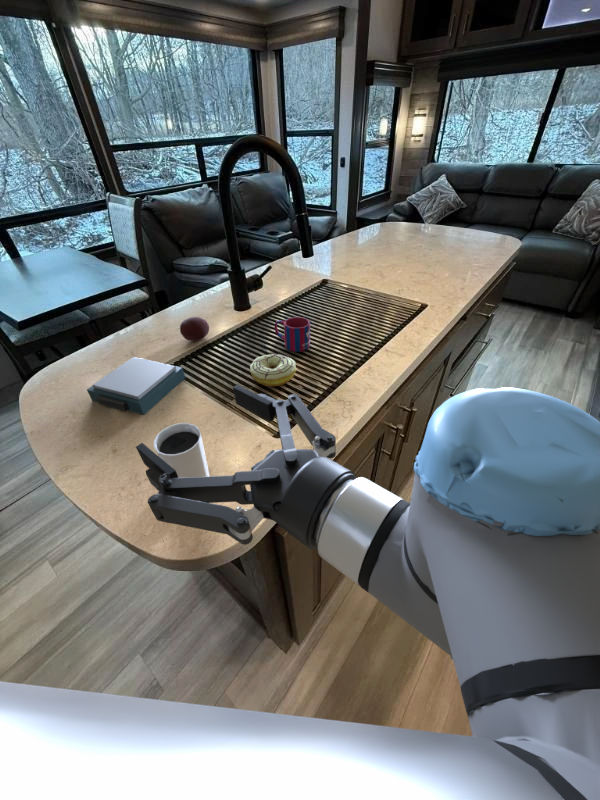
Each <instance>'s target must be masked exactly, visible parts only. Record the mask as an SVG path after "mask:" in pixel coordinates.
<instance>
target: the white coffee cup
mask: <svg viewBox="0 0 600 800" xmlns="http://www.w3.org/2000/svg"><path fill="white" fill-rule="evenodd" d="M202 437H203V436H202V433H201V429H200V428H199V427H198V426H197V425H196V424H193V423H189V422H178V423H175V424H171V425H169V426H167V427H165V428H163V429H162V430H161V431H160V432H159V433H157V434H156V436H155V437H154V440H153V448H154V450H155V453H156V455H158V456H159V457H160V458H161V459H162V460H164V461H165V462H166V463H167V464H169V465H170V466H171V467H172V468H173V469H175V470H176V472H177V475H178V477H179V478H187V477H209V476H210V471H209V466H208V462H207V457H206V451H205V448H204V441H203V438H202Z"/></svg>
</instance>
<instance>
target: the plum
mask: <svg viewBox="0 0 600 800" xmlns="http://www.w3.org/2000/svg"><path fill="white" fill-rule="evenodd" d="M179 332H180V335H181V336H182V337H183V338H184V339H185V340H187V341H194V342H195V341H201V340H203V339H204V338H206V336H208V334H209V332H210V325H209V323H208V322H207V320H206V319H204V318H203V317H200V316H190V317H188V318H186V319H184V320H182V321H181V323H180V326H179Z"/></svg>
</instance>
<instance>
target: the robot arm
mask: <svg viewBox="0 0 600 800" xmlns="http://www.w3.org/2000/svg"><path fill="white" fill-rule="evenodd" d="M232 390H233V395H234V399H235V403H236V405H237V406H239V407H241V408H244V409H246V410H247V411H249V412H251V413H253V414H255V415H257V416H258V417H260V418H262V419H264V420H266V421H268V422H269V423H271V422H273V421H274V420H275V419H276V422H277V426H278V427H277V428H278V432H279V433H278V434H279V439H280V444H281V445H280V446H281V448H278V449H276V450H275V449H271V450H270V451H269V452H268V453H267V454H266V455H265V457H264V458H263V459H262V460H260V461H258V462H256V463H255V464H254V465H252V466H251V467H250V470H243V471H242V470H241V471H236V472H235V473H234V474H232V475H213V476H209V477H187V478H179V477H178V475H177V472H176V470H175V469H173V468H172V467H171V466H170V465H169V464H167V463H166V462H165V461H164V460H162V459H161V458H160V457H159V456H158V454H157V453H156V452H154V451H153V450H152V449H151V448H150V447H148V446H147V445H145V444H144V443H143V442H140V443H139V444H137V445H136V446H135V449H136V450H137V452H138V454H139V457H140V459H141V461H142V463H143V465H145V467H147V468H148V469H146V470H145V474H146V477H147V479H148V481H149V484H150V485H152V487H154V489H156V490H157V491H158V492H157V493H155V494H152V495H151V496H150V497H148V499H147V504H148V506H149V509H150V510H151V512H152V514H153V515H154V517H155V519H156V520H157V521H159V522H163V523H167V524H172V525H178V526H183V527H187V528H192V529H198V530H203V531H208V532H213V533H217V534H218V533H219V534H223V535H227V536H229V537H230V538H232V539H234V541H236V542H238V543H239V544H241V545H244V546H245V545H249V544H250V543H251V542H252V541H253V538H254V536H253V531H254V530H255V529H256V527H258V525H259V524H260V522H261V521H263V519H264V520H265V519H266V520H271V521H273V522H275V523H276V524H277V525H278V526H279V527H280V528H281V529H282V530H284V532H285V531H286V532H287V533H288V534H289V535H291V536H292V537H293V538H294V539H296V540H297V541H298V542H300V543H301V544H303V545H304V546H305V547H306V548H308V549H309V550H317V554H318V555H319V557H320V558H321V559H323V560H324V561H325V562H327V563H328V564H329V565H331V566H332V567H333V568H335V569H336V570H337V571H339V572H340V573H341V574H343V575H344V576H345V577H347V578H348V579H349V580H351V581H352V582H353V583H354V584H356V585H357V586H358V587H360V588H361V589H362V590H364V591H365V592H366V593H368V594H369V595H371V596H372V597H373V598H375V599H376V600H378V602H380V603H381V604H383V606H385V607H386V608H387V609H389V610H390V611H391V612H393V613H394V614H395V615H396V616H398V617H399V618H400V619H402V620H403V621H404V622H406V623H407V624H408V625H410V626H411V627H412V628H414V629H415V630H416V631H418V632H419V633H420V634H422V636H424V637H425V638H427V639H428V640H429V641H430V642H432V643H433V644H434V645H435V646H436V647H438V648H439V649H441V650H442V651H443V652H445V653H446V654H447V655H448V656H450V659H451V660H452V661H453V665H454V668H455V671H456V676H457V680H458V683H459V687H460V693H461V696H462V701H463V705H464V708H465V711H466V715H467V718H468V722H469V727H470V731H471V735H463V734H456V733H455V734H454V733H446V732H440V731H439V732H437V731H429V730H420V729H412V728H404V727H403V728H402V727H394V726H388V725H387V726H386V725H377V724H371V723H370V724H369V723H361V722H354V721H353V722H352V721H345V720H344V721H343V720H335V719H327V718H317V717H309V716H302V715H301V716H299V715H293V714H292V715H291V714H283V713H276V712H275V713H274V712H266V711H259V710H258V711H257V710H251V709H250V710H248V709H242V708H241V709H240V708H233V707H223V706H215V705H207V704H196V703H190V702H189V703H188V702H181V701H173V700H172V701H171V700H163V699H155V698H148V697H147V698H146V697H137V696H129V695H120V694H113V693H104V692H96V691H95V692H94V691H86V690H77V689H69V688H60V687H52V686H43V685H34V684H25V683H17V682H8V681H2V680H1V681H0V800H600V420H598V419H597V418H595V417H594V416H593V415H591V414H590V413H588V412H586V411H585V410H584V409H581V408H580V407H578V406H575V405H574V404H571V403H569V402H567V401H564V400H562V399H560V398H557V397H554V396H552V395H548V394H545V393H541V392H537V391H533V390H529V389H524V388H518V387H505V386H503V387H499V388H489V387H488V388H482V387H481V388H475V389H469V390H466V391H464V392H460V393H457V394H456V395H453V396H452V397H450V398H448V399H447V400H445V401H444V402H443V403H442V404H441V405H439V406H438V407H437V408H436V409H435V410H434V411H433V414H432V415H431V417H430V419H429V420H428V423H427V427H426V431H425V434H424V436H423V437H424V438H423V441H422V444H421V447H420V450H419V451H418V454H417V455H415V462H414V463H413V472H414V479H413V484H412V490H411V495H410V502H409V501H406V500H405V499H403V498H402V497H400V496H398V495H396V494H394V493H393V492H392V491H390V490H388V489H386V488H384V487H382V486H381V485H378V484H377V483H375V482H373V481H372V480H370V479H369V478H366V477H364V476H360V477H357V476H356V474H355V472H354V471H352V470H351V469H348V468H346V467H345V466H344V465H341V464H339V463H338V462H336V461H334V460H333V458H336V456H337V453H336V452H337V445H336V444H337V439H336V438H337V437H336V436H335V435H334V434H333V433H331V432H330V431H328V430H326V429H324V428H323V427H322V426H321V424H320V423H319V422H318V421H317V419H316V418H315V416H314V415H313V414H312V412H311V411H310V410H309V409H308V407H307V406H306V405H305V403H304V402H303V401H302V399H301V398H300V396H299V395H297V394H295V393H293V394H289V396H288V399H285V400H283V399H275V398H273V397H272V396H269V395H267V394H265V393H259V394H257V393H255V392H253V391H251V390H249V389H247V388H245V387H243V386H241V385H239V384H236V385H235V386H233V387H232ZM289 415H291V417H292V418H293V420H294V421H295V423H296V425H297V426H298V427H299V429H300V430H301V432H302V433H303V434H304V436H305V438H306V439H307V440H308V442H309V445H311V447H312V449H311V448H296V445H295V441H294V436H293V433H292V429H291V425H290V419H289ZM275 417H276V418H275ZM247 486H249V487H250V490H248V489H247ZM217 503H237V504H239V505H245V506H247V505H253V507H251V508H249V509H245V508H243V507H241V506H237V507H236V508H235V509H234V508H232V507H230V506H226V505H223V504H217Z"/></svg>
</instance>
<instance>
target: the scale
mask: <svg viewBox="0 0 600 800" xmlns="http://www.w3.org/2000/svg"><path fill="white" fill-rule="evenodd" d="M185 379H186V375H185V372H184V368H183V367H181V366H177V365H172V364H167V363H163V362H158V361H154V360H149V359H146V358H145V359H144V358H141V357H136V356H133V357H131V358H130V359H128V360H126V361H125V362H124V363H123V364H121V365H119V366H118V367H116V368H115V369H113V370H112V371H110V372H109V373H107V374H106V375H105V376H103V377H102V378H101V379H99V380H97V381H96V382H95V383H93V384H92V385H91V386H90V387H88V388H87V389H86V391H87V393H88V395H89V397H90V399H91V401H93V402H95V403H98V404H99V405H100V406H104V407H108V408H111V409H114V410H118V411H122V412H125V413H126V412H127V411H128V412H132V413H135V414H138V415H143V416H145V415H146V414H147V413H148V412H149V411H150V410H152V409H153V408H154V407H155V406H157V404H158V403H160V402H161V401H162V400H163V399H164V398H165V397H167V395H169V394H170V393H171V392H172V391H173V390H174V389H175V388H176V387H178V386H179V385H180V384H181V383H182V382H183V381H185Z"/></svg>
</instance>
